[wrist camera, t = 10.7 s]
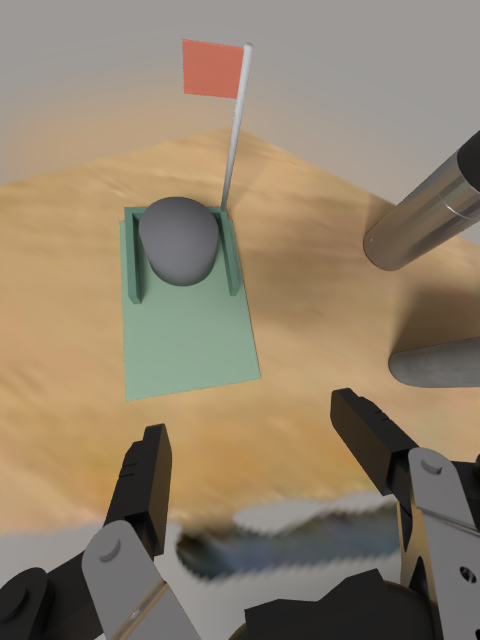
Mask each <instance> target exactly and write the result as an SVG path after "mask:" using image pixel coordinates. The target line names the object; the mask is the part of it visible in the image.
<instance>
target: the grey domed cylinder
mask: <svg viewBox="0 0 480 640" xmlns="http://www.w3.org/2000/svg"><path fill="white" fill-rule="evenodd" d="M139 234H140V237H141V240H142V243H143V246H144V249H145V252H146V255H147V258H148V260H149V263H150V266H151V268H152V270H153V272H154V273H155V274H156V275H157V277H159V278H160V279H161V280H162V281H164V282H166V283H168V284H171V285H174V286H181V287H183V286H191V285H195V284H197V283H199V282H201V281H203V280H204V279H205V278H206V277H207V276H208V275H209V274H210V272H211V271H212V269H213V266H214V260H215V254H216V247H217V241H218V225H217V222H216V219H215V218H214V216H213V214H212V213H211V212H210V211H209V210H208V209H207V208H206V207H205V206H204V205H202V204H200V203H199V202H197V201H195V200H192V199H189V198H184V197H168V198H164V199H160V200H158V201H156V202H154V203H152V204H151V205H150V206H149V207H148V208H147V209H146V210H145V211H144V212H143V214H142V216H141V218H140V221H139Z"/></svg>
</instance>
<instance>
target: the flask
mask: <svg viewBox="0 0 480 640" xmlns="http://www.w3.org/2000/svg"><path fill="white" fill-rule="evenodd" d="M389 368H390V371H391V374H392V375H393V376H394V378H395V379H397V380H398V381H399V382H401V383H404V384H406V385H410V386H415V387H423V388H453V387H480V337H476V338H471V339H465V340H460V341H455V342H450V343H445V344H439V345H434V346H429V347H424V348H419V349H414V350H408V351H403V352H398V353H394V354H393V355H392V356H391V357H390V360H389Z"/></svg>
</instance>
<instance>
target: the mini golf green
mask: <svg viewBox="0 0 480 640" xmlns="http://www.w3.org/2000/svg"><path fill="white" fill-rule="evenodd" d="M252 53H253V45H252V44H251V43H248V42H247V43H245V44H244V48H240V47H234V46H226V45H220V44H213V43H206V42H200V41H193V40H186V39H183V66H184V67H183V69H184V93H185V94H195V95H205V96H216V97H225V98H236V105H235V113H234V119H233V126H232V133H231V140H230V147H229V154H228V161H227V168H226V175H225V182H224V189H223V196H222V203H221V207H206V208H207V209H208V210H209V211H210V212H211V213H212V214H213V216H214V218H215V219H216V222H217V225H218V241H217V247H216V254H215V260H214V266H213V269H212V271H211V272H210V274H209V275H208V276H207V277H206V278H205V279H204V280H203V281H201V282H199V283H197V284H195V285H191V286H183V287H181V286H174V285H171V284H168V283H166V282H164V281H162V280H161V279H160V278H159V277H157V275H156V274H155V273H154V272H153V270H152V268H151V266H150V263H149V260H148V258H147V255H146V252H145V249H144V246H143V243H142V240H141V237H140V234H139V221H140V218H141V216H142V214H143V212H144V211H145V210H146V209H147V208H148V207H124V209H125V221H119V224H120V252H121V279H122V307H123V335H124V362H125V390H126V401H130V400H137V399H143V398H149V397H155V396H161V395H167V394H173V393H179V392H185V391H191V390H197V389H203V388H209V387H215V386H221V385H227V384H233V383H239V382H245V381H251V380H257V379H261V378H260V372H259V367H258V361H257V356H256V350H255V345H254V339H253V333H252V328H251V322H250V317H249V311H248V305H247V300H246V294H245V289H244V283H243V278H242V272H241V266H240V261H239V255H238V250H237V244H236V238H235V233H234V227H233V222H232V220H228V217H227V211H226V205H227V199H228V193H229V187H230V182H231V176H232V170H233V164H234V158H235V152H236V147H237V141H238V135H239V129H240V123H241V117H242V112H243V106H244V99H245V94H246V88H247V82H248V77H249V71H250V65H251V59H252Z"/></svg>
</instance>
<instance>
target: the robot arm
mask: <svg viewBox="0 0 480 640" xmlns="http://www.w3.org/2000/svg"><path fill="white" fill-rule="evenodd" d="M479 221H480V131H478V132H477V133H476V134H475V135H474V136H472V137H471V138H470V139H469V140H468V141H467V142H466V143H465V144H464V145H462V147H461V148H459V149H458V150H457V151H456V152H455V153H454V154H453V155H452V156H451V157H449V158H448V159H447V160H446V161H445V162H444V163H443V164H442V165H441V166H440V167H439V168H438V169H437V170H436V171H434V172H433V173H432V174H431V175H430V176H429V177H428V178H427V179H426V180H425V181H424V182H422V183H421V184H420V185H419V186H418V187H417V188H416V189H415V190H414V191H413V192H411V193H410V194H409V195H408V196H407V197H406V198H405V199H404V200H403V201H402V202H401V203H399V204H398V205H397V206H396V207H395V208H394V209H393V210H392V211H391V212H390V213H389V214H387V215H386V216H385V217H384V218H383V219H382V220H381V221H380V222H379V223H378V224H377V225H375V226H374V227H373V228H372V229H371V230H370V231H369V232H368V233H367V234H366V236H365V237H364V250H365V252H366V254H367V256H368V258H369V259H370V260H371V261H372V262H373V263H374V264H375V265H376V266H378V267H380V268H382V269H384V270H389V271H394V270H398V269H400V268H402V267H403V266H405V265H407V264H408V263H410V262H412V261H413V260H415V259H417V258H419V257H420V256H422V255H424V254H425V253H427V252H429V251H430V250H432V249H434V248H435V247H437V246H439V245H440V244H442V243H444V242H445V241H447V240H449V239H450V238H452V237H454V236H455V235H457V234H459V233H460V232H462V231H464V230H465V229H467V228H469V227H470V226H472V225H474V224H475V223H477V222H479ZM330 418H331V422H332V425H333V427H334V428H335V430H336V431H337V433H338V434H339V436H340V437H341V438H342V440H343V441H344V443H345V444H346V445H347V447H348V448H349V450H350V451H351V452H352V454H353V455H354V457H355V458H356V459H357V461H358V462H359V464H360V465H361V466H362V468H363V469H364V471H365V472H366V473H367V475H368V476H369V478H370V479H371V480H372V482H373V483H374V485H375V486H376V487H377V489H378V490H379V492H380V493H381V495H382V496H386V495H389V494H394V495H395V497H396V498H397V499H398V501H397V513H398V524H399V536H400V548H401V576H400V578H401V579H400V584H397V583H394V582H390V581H385V580H383V578H382V576H381V575H380V573H379V571H378V569H377V568H376V569H373V570H369V571H366V572H363V573H360V574H357V575H353V576H350V577H347V578H345V579H344V580H343V581H342V582H341V583H340V584H339V585H337V586H336V587H335V588H334V589H332V590H331V591H330V592H329V593H328V594H327V595H326V596H324V597H323V598H322V599H321V600H319V601H315V602H313V601H299V600H286V599H277V600H274V601H271V602H268V603H264V604H261V605H258V606H255V607H252V608H249V609H245V610H244V611H245V619H246V623H244V624H243V625H242V626H241V627H239V628H238V630H236V631H235V633H234V634H233V635H232V636H231V637H230V638H229V640H480V454H479V455H478V456H477V459H476V462H475V463H470V462H458V461H449V460H448V459H447V458H446V457H444V456H443V455H441V454H440V453H438V452H436V451H434V450H431V449H428V448H422V447H419V446H418V445H417V444H416V443H415V442H414V441H413V440H412V439H411V438H410V437H409V436H408V435H407V434H406V433H405V432H404V431H403V430H401V429H400V428H399V427H398V426H397V425H396V424H395V423H394V422H393V421H392V420H390V419H389V417H388V416H387V415H386V414H385V413H383V412H382V410H381V409H379V408H378V407H377V406H376V405H375V404H374V403H373V402H371V401H369V400H368V399H366V398H364V397H358V396H357V395H356V394H355V393H354V392H353V391H352V390H351V389H350V388H344V389H339V390H334V391H333V392H332V396H331V411H330ZM171 469H172V451H171V446H170V442H169V438H168V434H167V430H166V426H165V424H164V423H163V424H158V425H152V426H147V427H146V429H145V432H144V436H143V440H142V441H137V442H134V443H133V444H132V446H131V447H130V448H129V450H128V451H127V453H126V454H125V458H124V461H123V464H122V469H121V471H120V474H119V479H118V481H117V484H116V487H115V490H114V494H113V497H112V500H111V503H110V507H109V510H108V513H107V516H106V520H105V523H104V525H103V527H102V529H100V530H99V531H98V532H97V533H96V534H95V535H94V537H93V538H92V539H91V541H90V542H89V544H88V546H87V547H86V549H85V550H84V551H83V552H81V553H80V554H79V555H77V556H76V557H74V558H72V559H71V560H69V561H67V562H66V563H64V564H62V565H61V566H59V567H57V568H55V569H54V570H52V571H50V572H49V573H46V572H45V571H44V570H43V569H42V568H37V567H36V568H30V569H27V570H25V571H23V572H21V573H19V574H18V575H16V576H15V577H13V578H12V579H11V580H9V581H8V582H7V583H6V584H5V585H4V586H3V587H2V588H1V589H0V640H94V639H96V638H97V637H98V636H100V635H101V634H102V633H104V634H105V636H106V640H201V638H200V636H199V635H198V633H197V631H196V630H195V628H194V626H193V625H192V623H191V621H190V620H189V618H188V617H187V615H186V613H185V611H184V609H183V608H182V606H181V604H180V603H179V601H178V599H177V598H176V596H175V594H174V593H173V591H172V589H171V588H170V586H169V585H168V583H167V582H166V581H164V580H163V578H162V577H161V575H160V573H159V572H158V570H157V568H156V567H155V565H154V563H153V562H154V556H158V555H162V554H164V544H165V533H166V522H167V512H168V501H169V491H170V480H171Z"/></svg>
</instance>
